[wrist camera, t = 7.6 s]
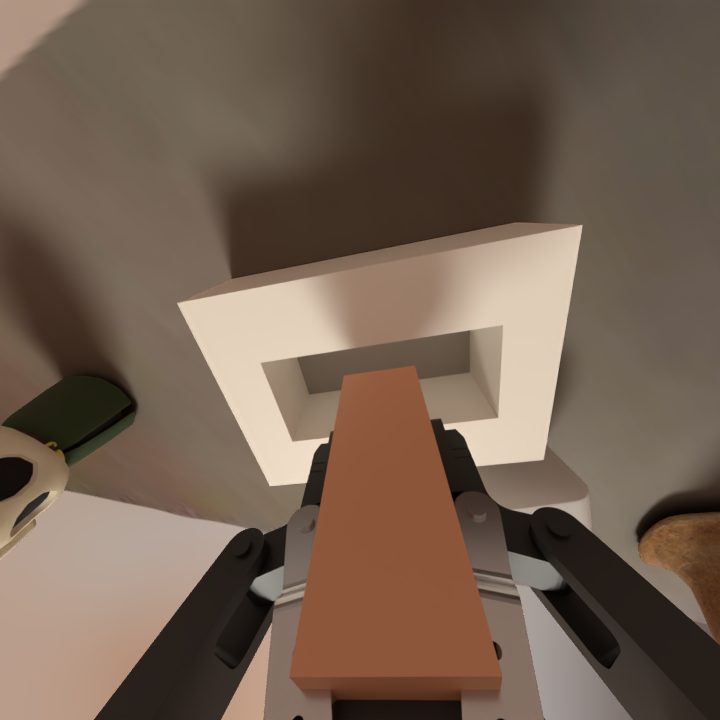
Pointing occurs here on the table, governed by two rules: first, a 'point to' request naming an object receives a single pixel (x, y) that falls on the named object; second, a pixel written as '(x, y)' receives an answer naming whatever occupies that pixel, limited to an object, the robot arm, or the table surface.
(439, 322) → the well block
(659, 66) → the table surface
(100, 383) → the character mug
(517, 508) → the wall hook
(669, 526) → the brown boot-shaped piece
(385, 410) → the orange block
